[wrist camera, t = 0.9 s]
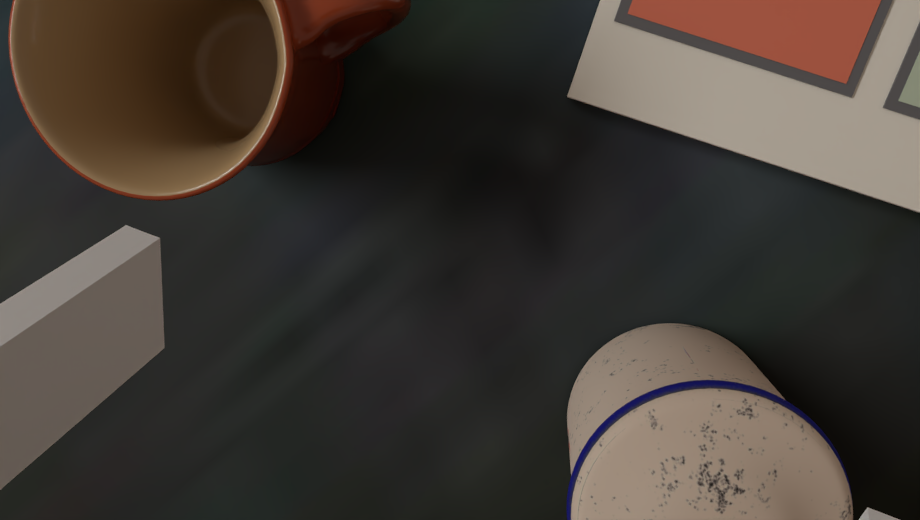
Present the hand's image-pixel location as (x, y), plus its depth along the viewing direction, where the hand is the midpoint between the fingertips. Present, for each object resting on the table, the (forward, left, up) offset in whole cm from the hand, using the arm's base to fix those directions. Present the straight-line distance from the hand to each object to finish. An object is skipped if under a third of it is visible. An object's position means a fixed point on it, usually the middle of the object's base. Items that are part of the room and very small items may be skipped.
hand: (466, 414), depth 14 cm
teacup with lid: (-5, -10, -20) cm, 23 cm away
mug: (+5, +11, -20) cm, 23 cm away
